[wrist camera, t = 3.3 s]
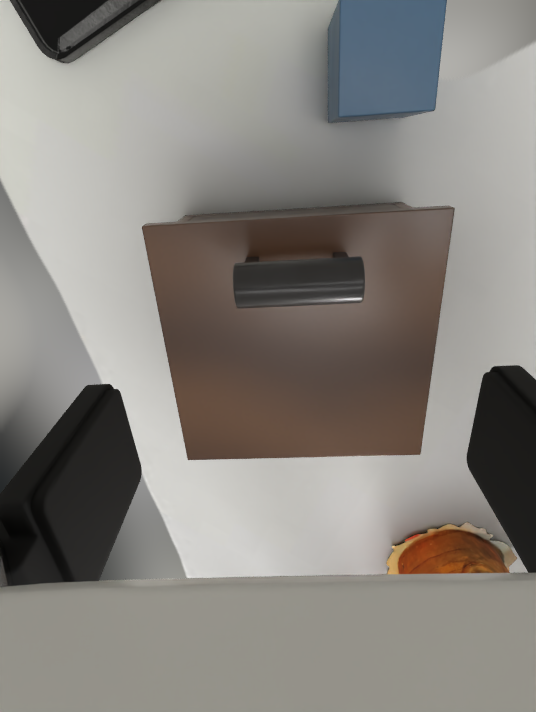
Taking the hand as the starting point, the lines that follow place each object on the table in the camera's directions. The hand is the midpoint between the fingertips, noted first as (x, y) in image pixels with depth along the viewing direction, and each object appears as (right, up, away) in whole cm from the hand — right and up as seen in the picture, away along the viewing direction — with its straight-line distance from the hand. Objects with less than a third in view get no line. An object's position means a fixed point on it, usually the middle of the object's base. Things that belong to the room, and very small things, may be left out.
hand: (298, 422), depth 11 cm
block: (+5, +19, +15) cm, 25 cm away
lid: (+1, +2, +14) cm, 14 cm away
